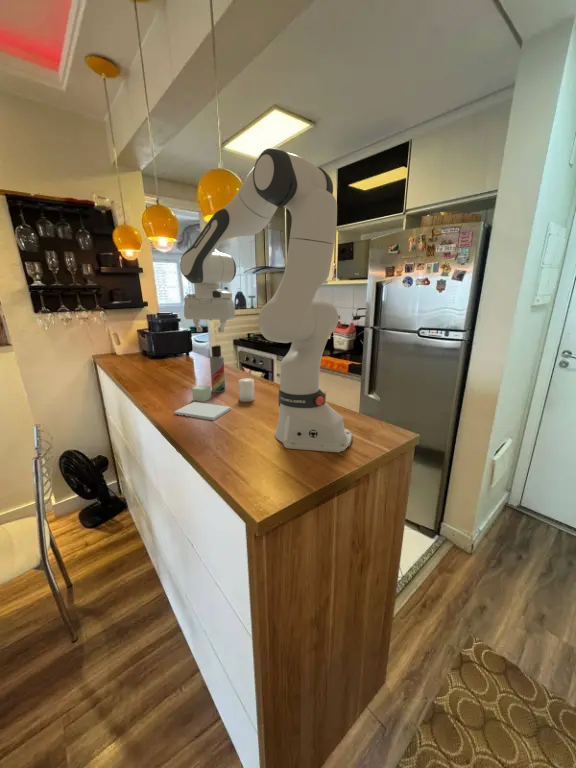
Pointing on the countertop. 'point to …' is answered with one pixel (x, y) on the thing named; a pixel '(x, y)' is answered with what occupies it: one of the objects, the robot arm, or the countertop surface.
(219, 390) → the lotion bottle
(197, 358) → the countertop surface
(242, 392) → the white rounded cylinder
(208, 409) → the tray
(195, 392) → the sage block
